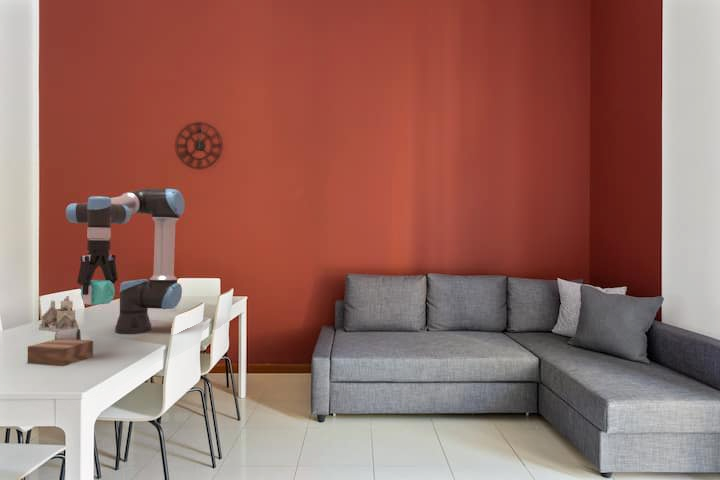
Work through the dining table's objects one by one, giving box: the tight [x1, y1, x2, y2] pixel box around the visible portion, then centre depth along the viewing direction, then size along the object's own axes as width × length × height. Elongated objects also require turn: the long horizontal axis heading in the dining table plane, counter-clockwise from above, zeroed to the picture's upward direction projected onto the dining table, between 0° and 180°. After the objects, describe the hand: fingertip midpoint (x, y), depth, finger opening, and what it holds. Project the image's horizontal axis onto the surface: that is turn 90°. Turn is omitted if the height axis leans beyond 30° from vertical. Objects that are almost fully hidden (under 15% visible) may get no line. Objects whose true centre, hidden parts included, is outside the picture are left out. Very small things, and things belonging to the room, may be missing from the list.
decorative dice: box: [80, 279, 116, 306], centre depth 184 cm, size 8×8×8 cm
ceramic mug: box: [54, 327, 82, 340], centre depth 195 cm, size 10×8×7 cm
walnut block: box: [27, 338, 94, 367], centre depth 179 cm, size 14×14×6 cm
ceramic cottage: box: [38, 295, 79, 333], centre depth 233 cm, size 16×16×15 cm
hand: (97, 302), depth 184 cm, fingers closed on decorative dice, 9 cm apart
